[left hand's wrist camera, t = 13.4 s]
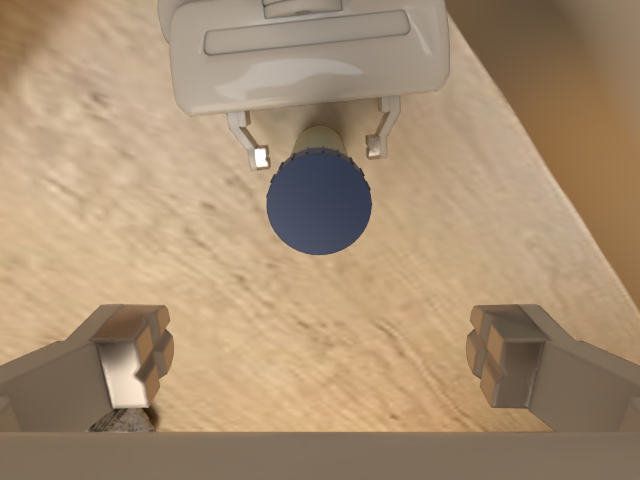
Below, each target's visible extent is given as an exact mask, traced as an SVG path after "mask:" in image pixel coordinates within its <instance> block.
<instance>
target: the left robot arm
mask: <svg viewBox="0 0 640 480" xmlns="http://www.w3.org/2000/svg"><path fill="white" fill-rule="evenodd" d="M169 322H170V317H169V312H168V309H167V307H166V306H165V305H131V304H126V305H124V304H105V305H100V306H99V307H98V308H97V309H96V310H95V311H94V312H93V313H92V314H91V315H90V316H89V317H88V318H87V319H86V320H85V321H84V322H83V323H82V324H81V325H80V326H79V327H78V328H77V329H76V330H75V331H74V332H73V333H72V334H71V335H70V336H69V337H68V338H67V339H66V340H65V341H56V342H54V343H52V344H50V345H47V346H45V347H43V348H40V349H38V350H36V351H33V352H31V353H29V354H26V355H24V356H22V357H19V358H17V359H15V360H13V361H10V362H8V363H6V364H3V365H1V366H0V480H640V366H639V365H637V364H634V363H632V362H630V361H627V360H625V359H623V358H620V357H618V356H616V355H613V354H611V353H609V352H607V351H604V350H602V349H600V348H597V347H595V346H593V345H590V344H588V343H586V342H584V341H575V340H574V339H573V338H572V337H571V336H570V335H569V334H568V333H567V332H566V331H565V330H564V329H563V328H562V327H561V326H560V325H559V324H558V323H557V322H556V321H555V320H554V319H553V318H552V317H551V316H550V315H549V314H548V313H547V312H546V311H545V310H544V309H543V308H542V307H541V306H539V305H536V304H520V305H518V304H517V305H478V306H474V307H473V309H472V311H471V317H470V322H471V323H472V325H473V327H474V328H475V329H474V330H473V331H472V332H471V333H470V334H469V335H468V336H467V343H466V354H467V361H468V364H469V367H470V369H471V371H472V373H473V374H474V375H476V376H477V377H479V378H480V379H481V383H480V388H481V390H482V392H483V394H484V395H485V397H486V399H487V401H488V403H489V405H490V406H491V408H524V409H529V411H530V412H531V413H533V414H534V415H535V416H536V417H538V418H539V419H540V420H542V421H543V422H544V423H545V424H547V425H548V426H549V427H551V428H552V429H553V430H554V431H556V432H84V431H86V430H87V429H88V428H90V427H91V426H92V425H93V424H95V423H96V422H97V421H99V420H100V419H101V418H102V417H104V416H105V415H106V414H107V413H109V412H110V411H111V409H116V408H149V407H150V405H151V403H152V401H153V399H154V397H155V395H156V394H157V392H158V390H159V388H160V383H159V379H160V378H161V377H163V376H164V375H166V374H167V373H168V371H169V369H170V367H171V364H172V360H173V355H174V342H173V336H172V335H171V334H170V333H169V332H168V331H167V330H166V329H165V328H166V327H167V325H168V323H169Z"/></svg>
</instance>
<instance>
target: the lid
mask: <svg viewBox="0 0 640 480" xmlns="http://www.w3.org/2000/svg"><path fill="white" fill-rule="evenodd" d="M364 176H365V175H364V173H363V171H362V169H361V168H358V166H357V165H356V164H355V163H354V162H353V160H352V158H351V157H350V158H349V157H347V156H346V155H345V154H343V153H341V152H339V150H338V149H337V151H336V150H333V149H329V148H324V146H322V147H316V148H309V147H307V149H305V150H302V151H299V152H297V153H295V152H294V153H293V154H292V156H291V157H289V158H288V159H287V160H286V161H285V162H282V163H281V165H280V167H279V170H278V171H277V173H276V174H274V175H273V177H272V179H271V181H270V183H271V185H270V188H269V191H268V193H267V196H266V197H267V214H268V218H269V221H270V223H271V226H272V228H273V229H274V231H275V233H276V234H277V235H278V237H279V238H280V239H281V240H282V241H283V242H285V243H286V244H287V245H288V246H290V247H292V248H293V249H295V250H298V251H300V252H303V253H306V254H312V255H327V254H332V253H335V252H338V251H341V250H343V249H345V248H347V247H348V246H350V245H351V244H352V243H354V242H355V241H356V240H357V239H358V238H359V237H360V236H361V234H362V233H363V232H364V230H365V228H366V226H367V224H368V221H369V219H370V215H371V208H372V201H371V194H370V190H371V189H370V187H369V185H368V183H367V181H365V179H364Z"/></svg>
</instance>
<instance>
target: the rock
mask: <svg viewBox="0 0 640 480" xmlns="http://www.w3.org/2000/svg"><path fill="white" fill-rule="evenodd" d="M84 432H155V427H154V426H153V424H151V422H150V420H149V417H148V416H147V414H146V413H145V412H144V411H143V409H142V408H116V409H111V411H110V412H109V413H107V414H106V415H105V416H104V417H102V418H101V419H100V420H99V421H97V422H96V423H95V424H93V425H92V426H91V427H90V428H88V429H87V430H86V431H84Z"/></svg>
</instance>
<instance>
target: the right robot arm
mask: <svg viewBox="0 0 640 480" xmlns="http://www.w3.org/2000/svg"><path fill="white" fill-rule="evenodd" d="M157 7H158V14H159V19H160V24H161V29H162V33H163V35H164V37H165V39H166V41H167V42H168V44H169V52H170V66H171V75H172V83H173V90H174V95H175V100H176V103H177V105H178V106H179V107H180V108H181V109H182V110H183V111H184V112H185V113H186V114H187V115H188V116H191V117H192V116H202V115H212V114H222V113H227V118H228V124H229V129H230V130H231V131H232V133H233V134H234V135H235V137H236V138H237V139H238V140H239V142H240V143H241V144H242V145H243V147H244V148H245V149H247V150H248V157H249V163H250V168H251V171H257V170H266V169H270V167H271V161H270V158H269V156H268V155H269V147H268V145H260V146H258V144H257V142H256V141H255V140H254V138H253V137H252V135H251V134H250V133H249V131H248V130H247V129H246V126H248V125H250V124H251V119H250V112H249V111H251V110H261V109H270V108H280V107H290V106H300V105H310V104H319V103H329V102H339V101H349V100H358V99H368V98H378V110H379V111H380V112H383V113H385V114H384V116H383V118H382V120H381V122H380V124H379V126H378V128H377V130H376V133H375V134H371V135H365V138H366V144H367V148H366V154H367V158H368V159H380V158H387V138H386V136H387V135H388V134H389V133H390V131H391V129H392V127H393V125H394V123H395V121H396V119H397V117H398V115H399V113H400V95H407V94H417V93H427V92H436V91H439V90H440V89H441V87H442V86H443V85H444V83H445V82H446V80H447V79H448V76H449V72H450V44H449V30H448V20H447V12H446V5H445V0H158V6H157Z"/></svg>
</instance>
